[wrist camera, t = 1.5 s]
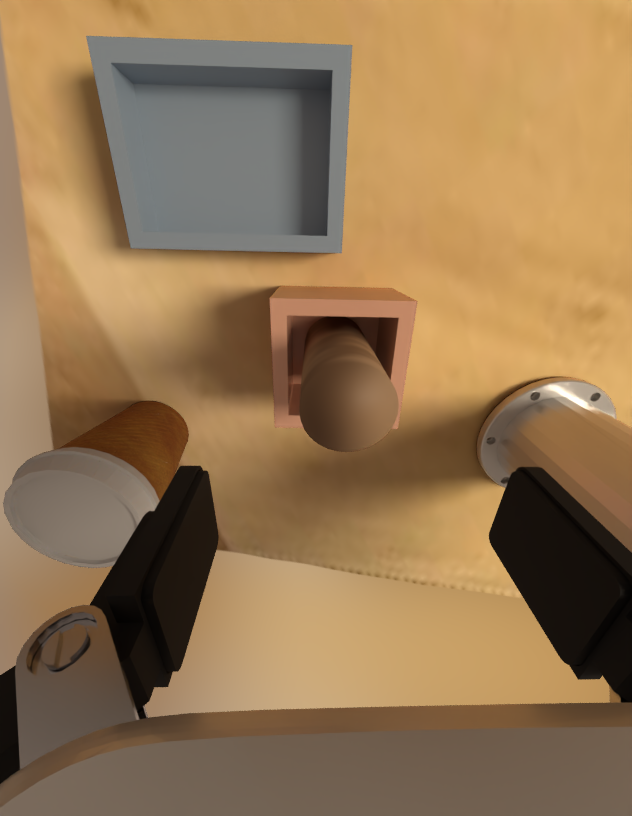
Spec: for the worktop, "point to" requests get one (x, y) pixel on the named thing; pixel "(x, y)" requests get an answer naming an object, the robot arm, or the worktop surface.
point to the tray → (227, 141)
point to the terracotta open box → (368, 307)
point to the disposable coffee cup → (97, 486)
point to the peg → (344, 388)
